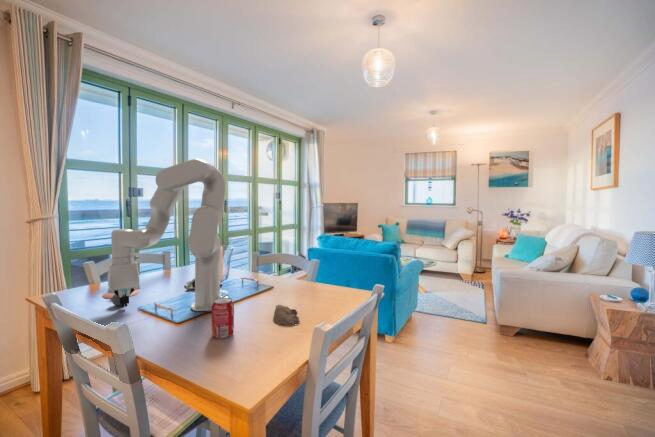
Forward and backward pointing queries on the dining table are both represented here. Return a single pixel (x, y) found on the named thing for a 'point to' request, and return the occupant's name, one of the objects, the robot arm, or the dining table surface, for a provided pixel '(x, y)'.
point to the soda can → (222, 317)
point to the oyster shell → (285, 315)
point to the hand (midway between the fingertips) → (124, 305)
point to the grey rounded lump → (117, 299)
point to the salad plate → (191, 285)
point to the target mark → (109, 296)
